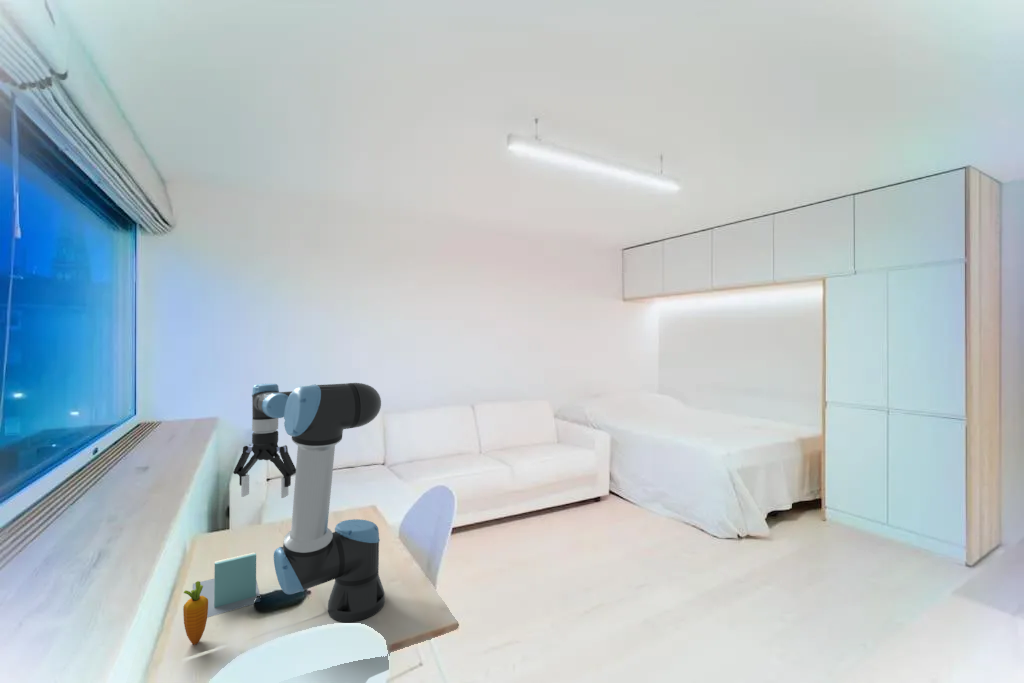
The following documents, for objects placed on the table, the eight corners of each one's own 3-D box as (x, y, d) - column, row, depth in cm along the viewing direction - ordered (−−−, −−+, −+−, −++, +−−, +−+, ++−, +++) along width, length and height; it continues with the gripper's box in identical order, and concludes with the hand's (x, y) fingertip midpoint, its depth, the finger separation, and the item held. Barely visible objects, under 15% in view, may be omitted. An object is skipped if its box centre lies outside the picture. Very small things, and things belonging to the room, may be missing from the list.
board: (255, 596, 129) (256, 554, 129) (214, 607, 123) (214, 564, 123) (255, 592, 130) (255, 551, 130) (214, 604, 124) (214, 561, 124)
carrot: (195, 653, 106) (196, 590, 106) (177, 650, 107) (178, 588, 107) (212, 639, 111) (213, 579, 111) (195, 637, 112) (196, 577, 112)
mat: (261, 603, 126) (261, 601, 126) (191, 624, 117) (191, 621, 117) (253, 570, 144) (253, 568, 144) (192, 585, 135) (192, 583, 135)
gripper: (308, 429, 148) (307, 493, 148) (237, 428, 150) (236, 491, 150) (295, 434, 141) (295, 501, 141) (221, 432, 143) (220, 498, 143)
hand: (265, 496), depth 146 cm, fingers open, 13 cm apart
